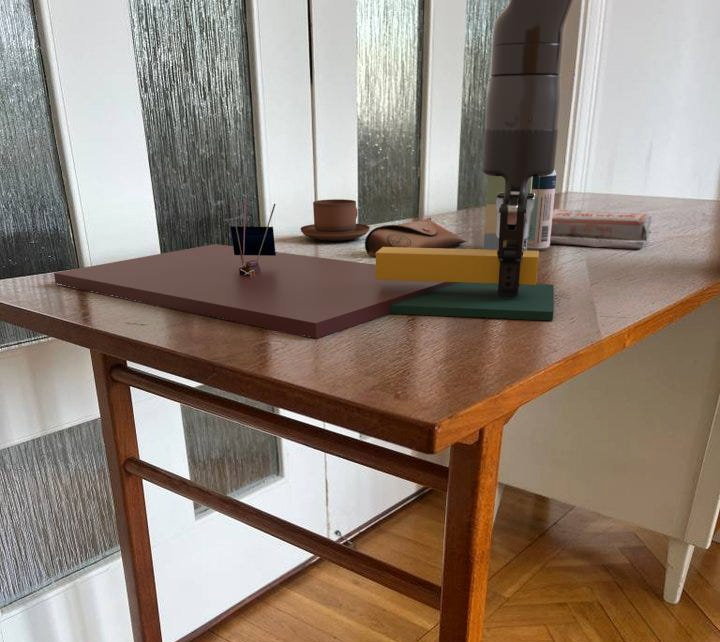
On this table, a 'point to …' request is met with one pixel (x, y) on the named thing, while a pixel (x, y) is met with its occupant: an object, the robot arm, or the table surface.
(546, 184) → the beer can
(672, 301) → the table surface
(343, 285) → the board
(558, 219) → the packaged product
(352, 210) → the cup and saucer
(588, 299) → the table surface
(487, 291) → the mat
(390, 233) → the sunglasses case
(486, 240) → the tower
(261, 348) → the table surface
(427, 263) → the bar
